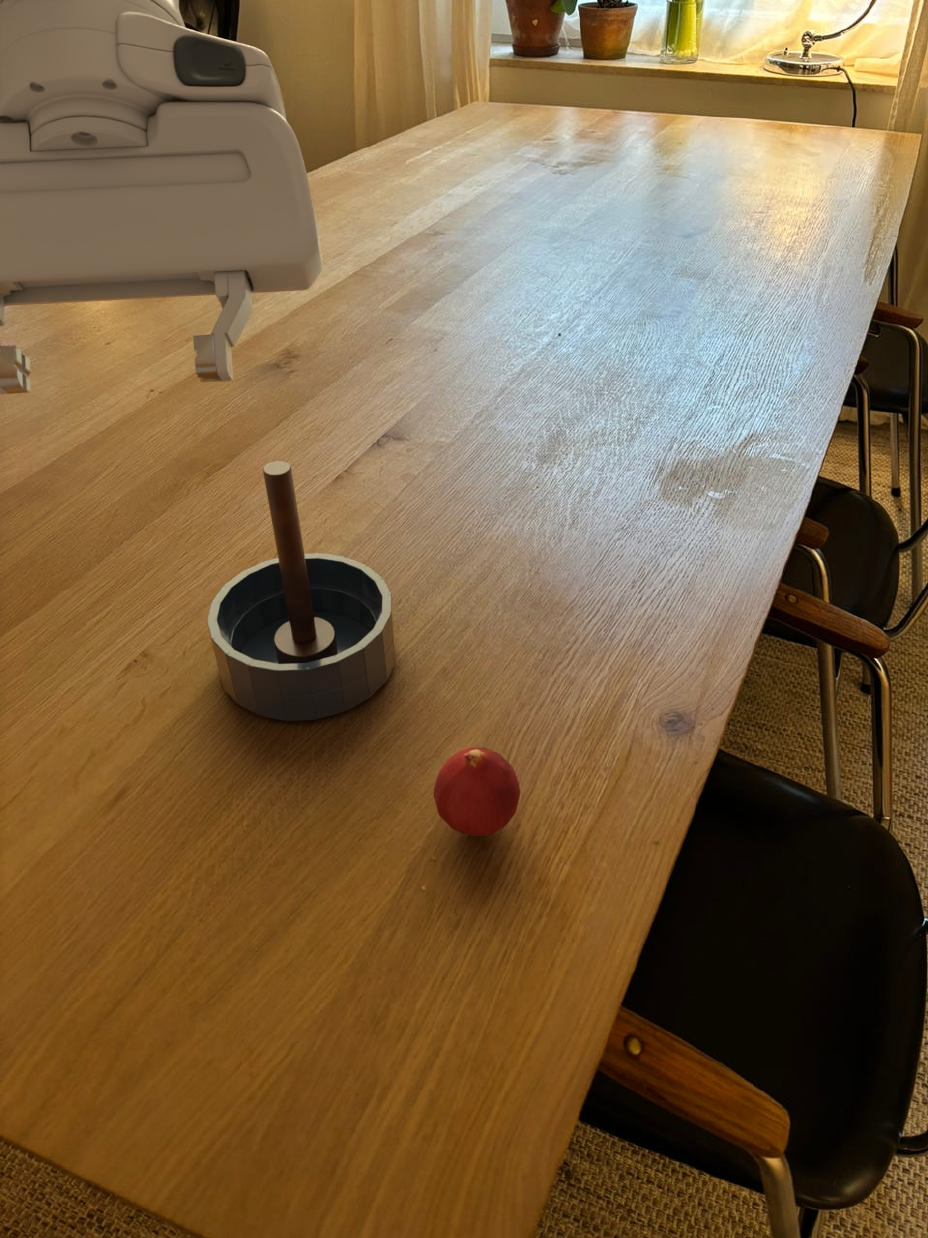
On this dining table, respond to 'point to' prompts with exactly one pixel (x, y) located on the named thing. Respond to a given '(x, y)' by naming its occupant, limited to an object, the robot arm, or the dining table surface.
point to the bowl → (316, 687)
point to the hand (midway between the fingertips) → (112, 384)
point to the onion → (476, 792)
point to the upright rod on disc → (294, 576)
